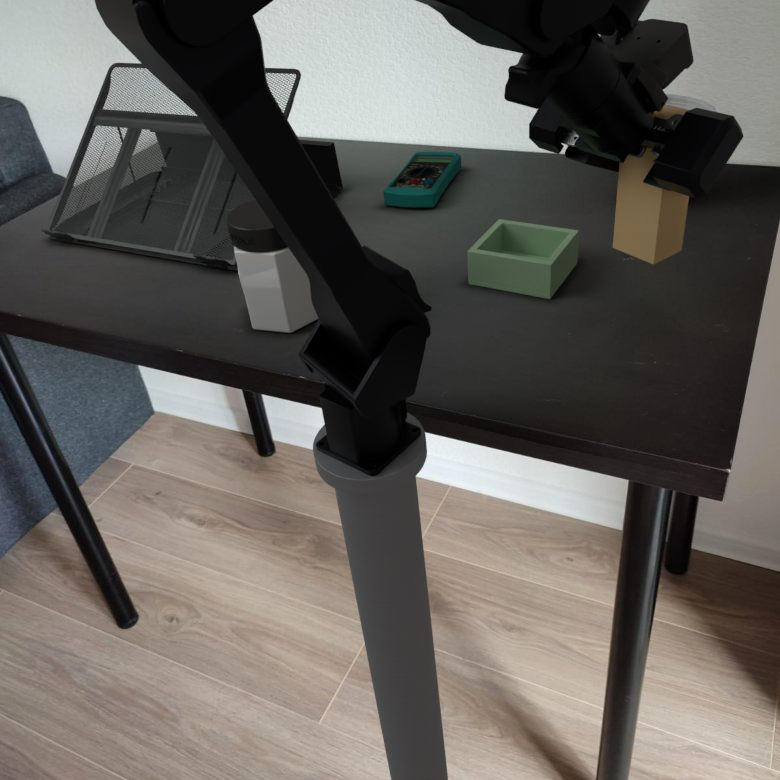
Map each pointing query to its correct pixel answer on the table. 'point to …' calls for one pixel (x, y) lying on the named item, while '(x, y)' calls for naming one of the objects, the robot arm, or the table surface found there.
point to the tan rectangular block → (648, 209)
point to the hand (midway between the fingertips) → (664, 179)
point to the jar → (269, 272)
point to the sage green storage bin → (523, 258)
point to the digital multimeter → (422, 180)
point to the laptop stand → (164, 177)
